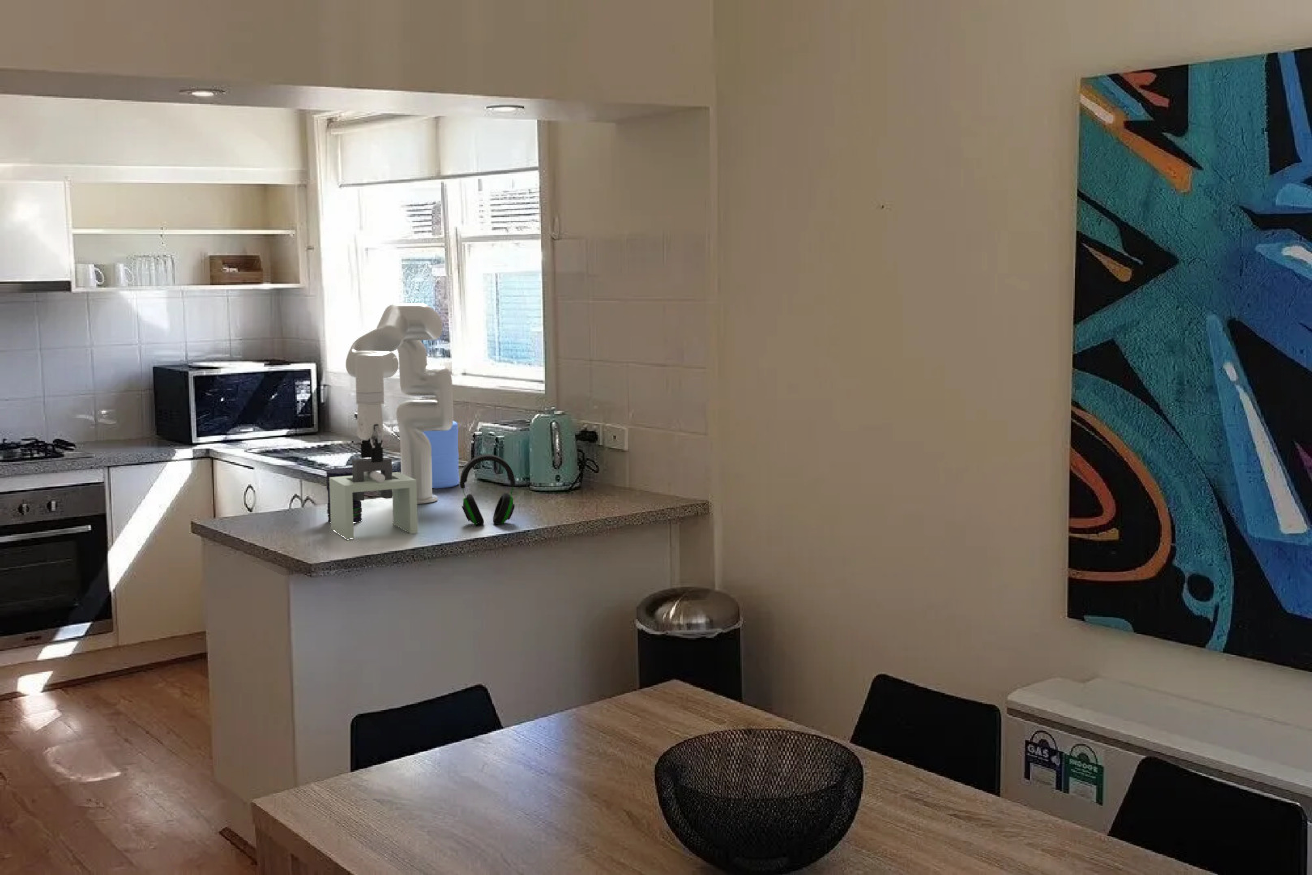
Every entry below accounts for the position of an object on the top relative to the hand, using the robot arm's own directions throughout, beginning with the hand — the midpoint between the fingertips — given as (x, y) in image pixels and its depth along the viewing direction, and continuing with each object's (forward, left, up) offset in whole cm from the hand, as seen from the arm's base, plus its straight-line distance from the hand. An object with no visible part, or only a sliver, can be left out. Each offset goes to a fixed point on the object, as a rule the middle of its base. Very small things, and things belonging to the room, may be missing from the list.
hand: (371, 459), depth 388 cm
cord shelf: (0, 0, -20) cm, 20 cm away
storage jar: (-19, -3, -20) cm, 28 cm away
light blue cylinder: (-67, +41, -20) cm, 81 cm away
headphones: (+5, +32, -20) cm, 38 cm away
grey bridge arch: (0, 0, -11) cm, 11 cm away
